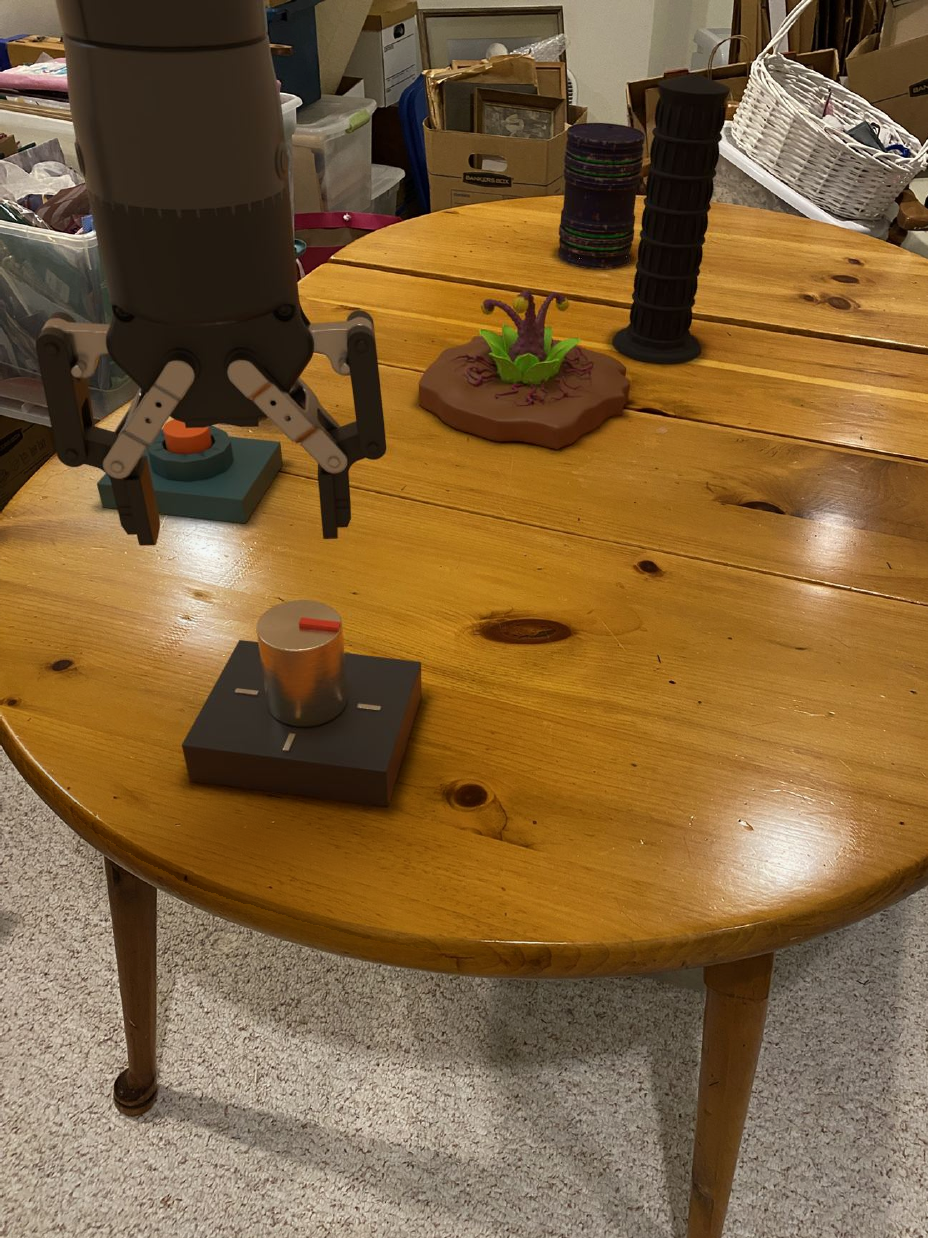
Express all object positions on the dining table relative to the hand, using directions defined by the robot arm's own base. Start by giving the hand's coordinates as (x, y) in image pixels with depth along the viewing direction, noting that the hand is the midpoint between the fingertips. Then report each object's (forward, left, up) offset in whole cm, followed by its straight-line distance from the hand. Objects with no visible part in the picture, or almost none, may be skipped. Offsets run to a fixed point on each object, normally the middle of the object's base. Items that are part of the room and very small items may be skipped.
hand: (241, 533), depth 50 cm
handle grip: (+21, +72, -18) cm, 77 cm away
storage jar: (+12, +100, -18) cm, 102 cm away
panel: (+1, +4, -17) cm, 18 cm away
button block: (-17, +32, -17) cm, 40 cm away
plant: (+8, +55, -18) cm, 58 cm away
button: (-17, +32, -14) cm, 39 cm away
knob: (+1, +4, -14) cm, 15 cm away
